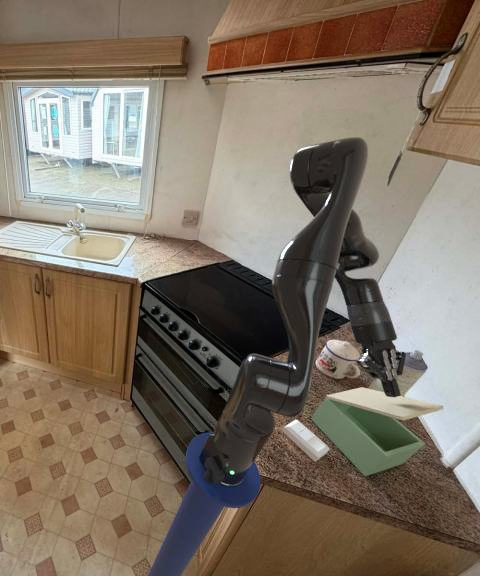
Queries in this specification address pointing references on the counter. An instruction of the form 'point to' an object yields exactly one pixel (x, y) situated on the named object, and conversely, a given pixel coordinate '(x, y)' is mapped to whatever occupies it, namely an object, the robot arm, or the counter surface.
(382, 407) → the lid
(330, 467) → the counter surface
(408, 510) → the counter surface
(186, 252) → the counter surface
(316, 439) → the white light switch
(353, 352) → the teacup with lid
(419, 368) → the aerosol can
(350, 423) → the container
